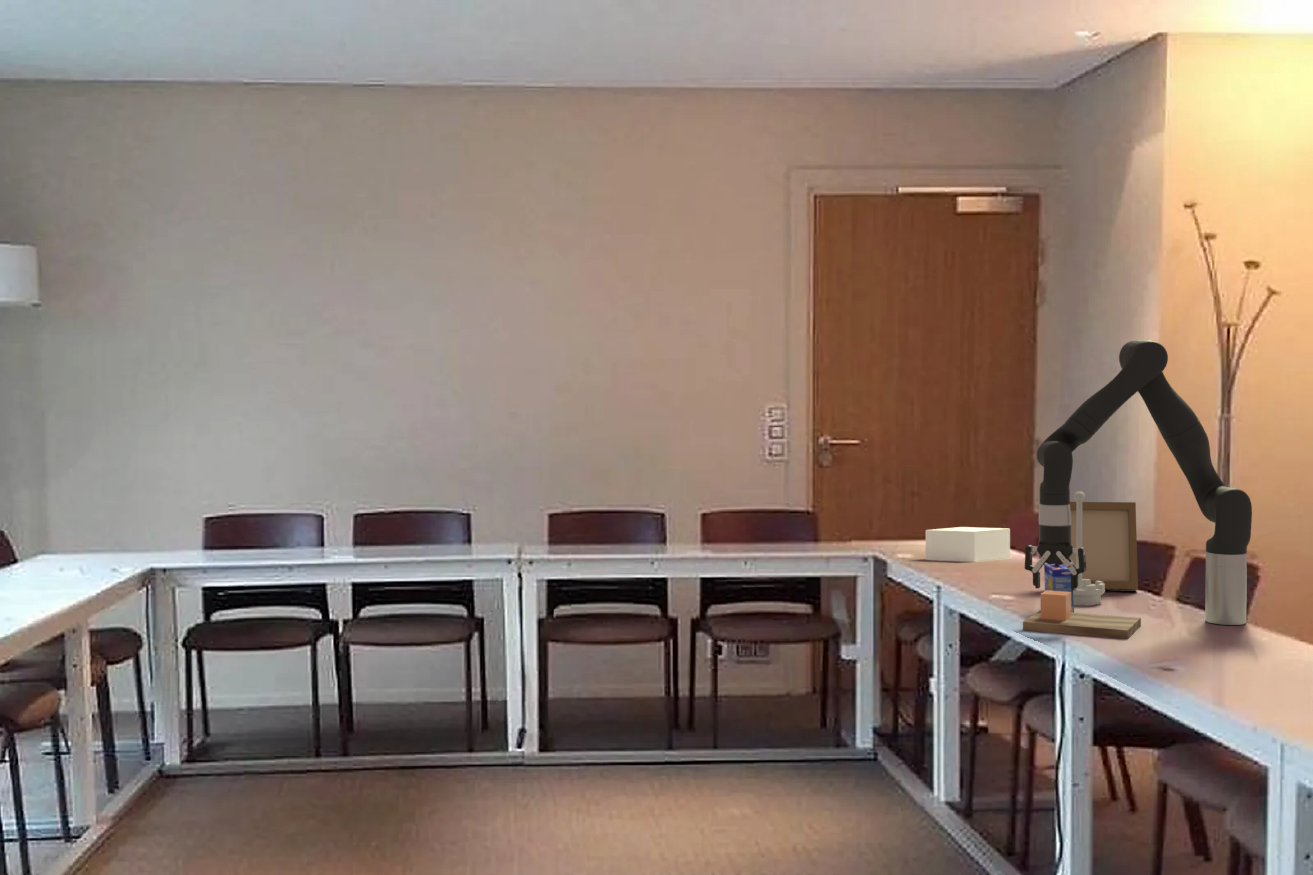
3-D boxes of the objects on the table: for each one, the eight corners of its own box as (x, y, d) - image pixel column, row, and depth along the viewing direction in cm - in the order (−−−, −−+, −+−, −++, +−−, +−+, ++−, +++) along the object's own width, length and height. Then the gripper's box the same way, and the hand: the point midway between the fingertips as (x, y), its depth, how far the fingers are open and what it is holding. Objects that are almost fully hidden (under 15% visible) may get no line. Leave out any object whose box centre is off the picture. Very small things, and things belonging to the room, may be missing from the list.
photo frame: (1137, 592, 364) (1138, 503, 363) (1056, 590, 369) (1056, 503, 368) (1131, 585, 378) (1131, 500, 377) (1053, 583, 383) (1053, 499, 383)
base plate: (1040, 617, 327) (1040, 592, 327) (1140, 625, 315) (1141, 599, 315) (1022, 630, 311) (1022, 603, 311) (1127, 638, 299) (1127, 610, 299)
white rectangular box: (919, 557, 444) (919, 527, 443) (1002, 555, 446) (1002, 526, 445) (931, 563, 429) (931, 532, 429) (1017, 561, 431) (1017, 530, 431)
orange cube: (1040, 618, 315) (1040, 593, 315) (1046, 614, 321) (1046, 590, 320) (1065, 620, 313) (1065, 595, 312) (1071, 616, 318) (1071, 592, 318)
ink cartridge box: (1043, 609, 339) (1043, 554, 338) (1064, 609, 338) (1064, 554, 338) (1052, 616, 329) (1052, 559, 328) (1074, 616, 328) (1074, 559, 328)
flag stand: (1107, 606, 343) (1108, 493, 342) (1056, 605, 345) (1056, 493, 344) (1101, 598, 356) (1101, 489, 354) (1051, 597, 358) (1052, 489, 357)
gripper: (1088, 522, 315) (1088, 588, 316) (1029, 520, 322) (1029, 585, 323) (1081, 525, 309) (1082, 593, 309) (1021, 523, 316) (1022, 589, 316)
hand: (1055, 589), depth 316 cm, fingers open, 8 cm apart
